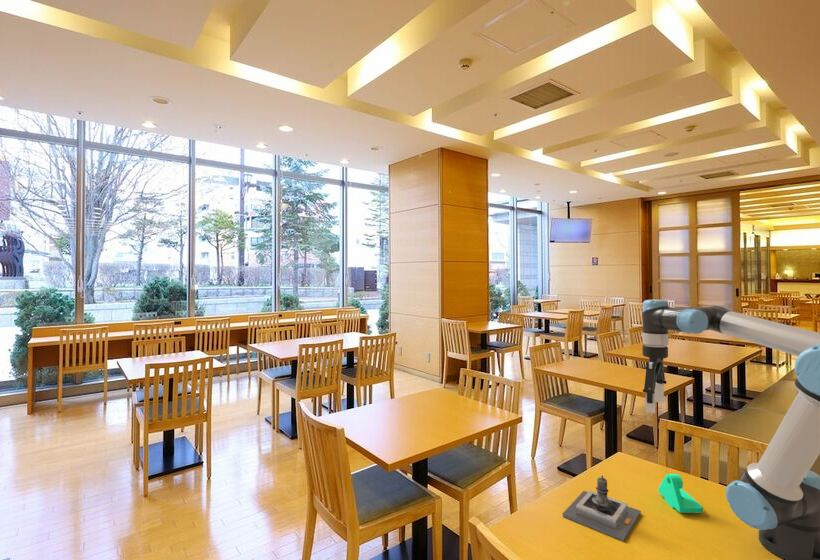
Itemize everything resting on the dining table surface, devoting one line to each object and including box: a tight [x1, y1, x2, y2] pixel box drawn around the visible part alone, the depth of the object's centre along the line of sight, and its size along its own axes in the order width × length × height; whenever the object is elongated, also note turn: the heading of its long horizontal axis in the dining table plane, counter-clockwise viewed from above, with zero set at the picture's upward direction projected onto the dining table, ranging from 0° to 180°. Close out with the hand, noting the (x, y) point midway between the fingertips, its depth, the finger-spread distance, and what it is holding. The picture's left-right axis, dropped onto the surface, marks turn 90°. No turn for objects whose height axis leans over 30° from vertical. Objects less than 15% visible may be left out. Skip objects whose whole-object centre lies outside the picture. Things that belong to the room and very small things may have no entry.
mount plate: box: [562, 490, 642, 542], centre depth 132 cm, size 18×18×4 cm
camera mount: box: [658, 473, 704, 514], centre depth 138 cm, size 12×8×10 cm, turn 178°
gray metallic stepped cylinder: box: [592, 475, 612, 516], centre depth 132 cm, size 6×6×12 cm
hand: (654, 407), depth 141 cm, fingers open, 13 cm apart
